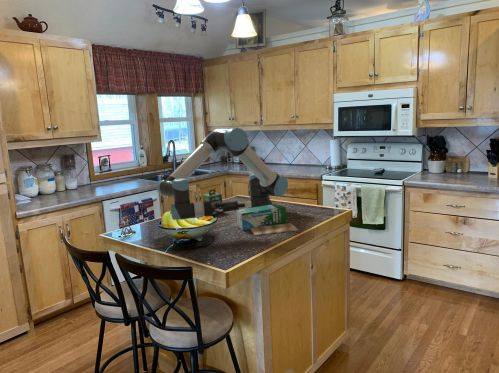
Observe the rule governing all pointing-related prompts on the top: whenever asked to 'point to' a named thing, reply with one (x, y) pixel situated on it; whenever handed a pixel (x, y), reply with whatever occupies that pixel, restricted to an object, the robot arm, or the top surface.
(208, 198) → the chalk box
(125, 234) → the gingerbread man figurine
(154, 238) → the top surface
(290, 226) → the cork mat
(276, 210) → the milk carton
